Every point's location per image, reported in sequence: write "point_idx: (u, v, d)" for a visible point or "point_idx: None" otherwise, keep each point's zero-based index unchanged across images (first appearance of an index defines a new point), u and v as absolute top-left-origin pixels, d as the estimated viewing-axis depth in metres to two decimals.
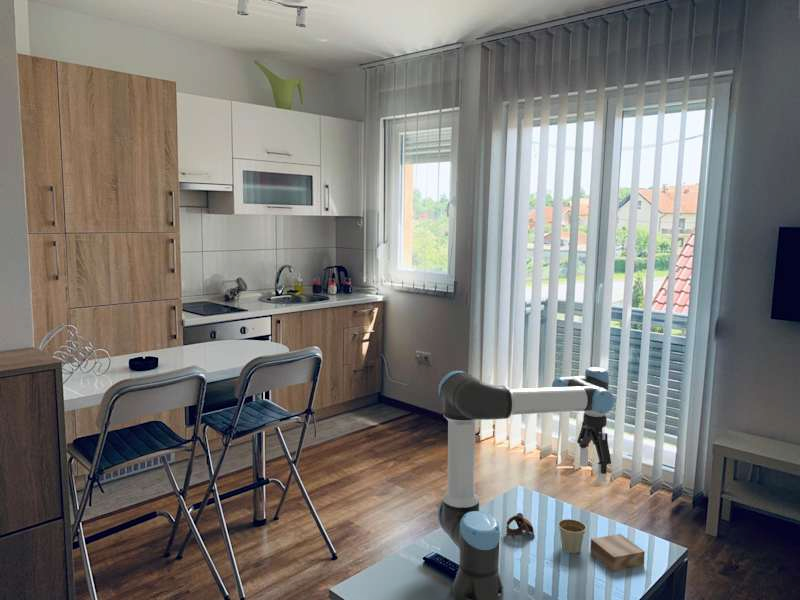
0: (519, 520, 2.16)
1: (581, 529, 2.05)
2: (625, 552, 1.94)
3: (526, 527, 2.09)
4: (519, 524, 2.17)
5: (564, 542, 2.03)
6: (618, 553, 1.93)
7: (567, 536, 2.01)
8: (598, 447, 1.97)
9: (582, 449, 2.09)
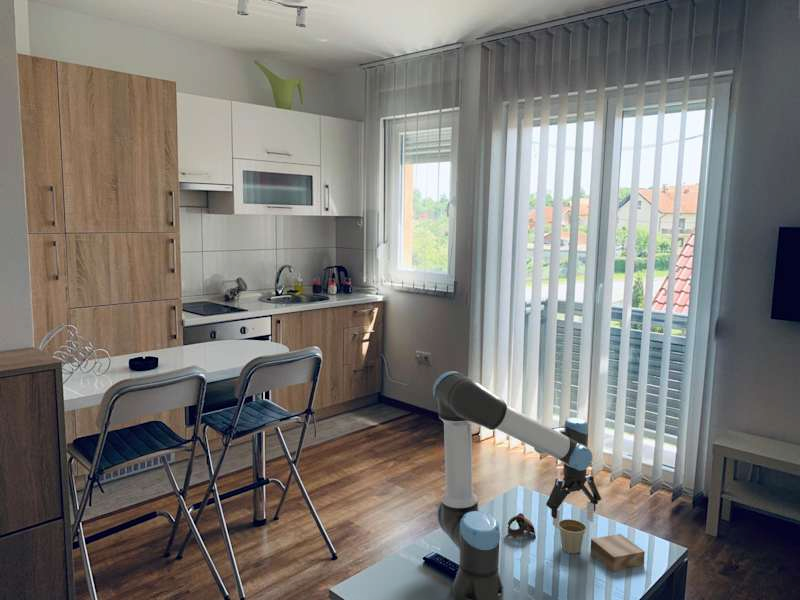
0: (520, 520, 2.16)
1: (581, 529, 2.05)
2: (625, 552, 1.94)
3: (527, 527, 2.09)
4: (520, 524, 2.17)
5: (564, 542, 2.03)
6: (618, 553, 1.93)
7: (567, 536, 2.01)
8: (559, 493, 2.02)
9: (588, 502, 2.06)
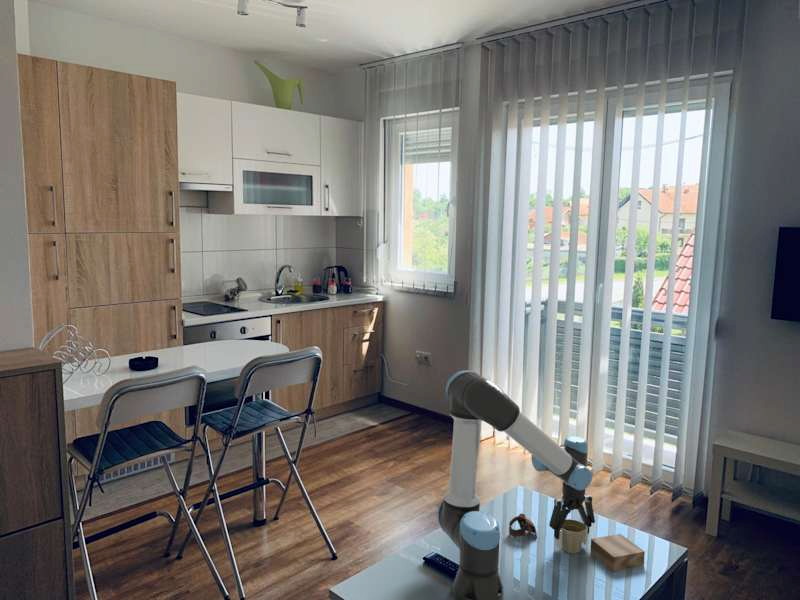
0: (521, 521, 2.16)
1: (581, 529, 2.05)
2: (625, 552, 1.94)
3: (529, 528, 2.09)
4: (521, 524, 2.17)
5: (564, 542, 2.03)
6: (618, 553, 1.93)
7: (567, 536, 2.01)
8: (560, 513, 2.03)
9: None
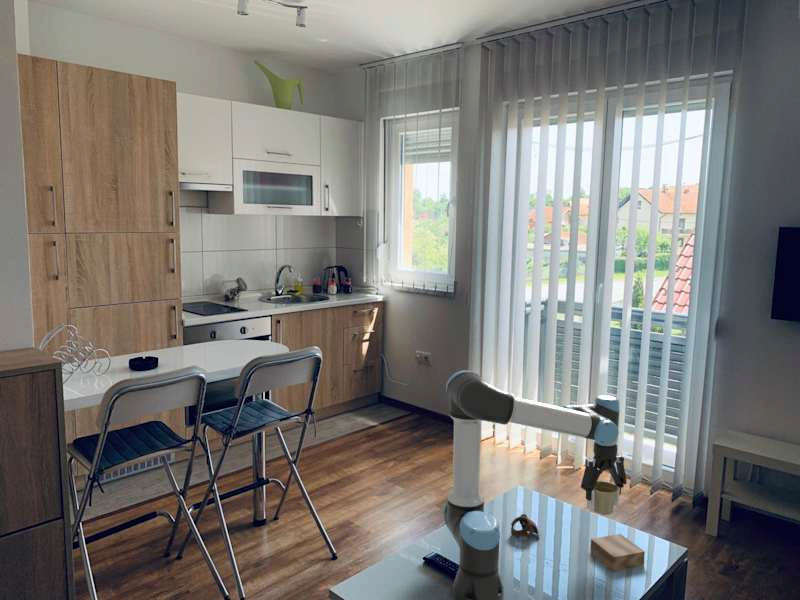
0: (523, 521, 2.16)
1: (612, 490, 2.00)
2: (625, 552, 1.94)
3: (531, 528, 2.09)
4: (523, 525, 2.16)
5: (596, 504, 1.97)
6: (618, 553, 1.93)
7: (599, 497, 1.96)
8: (592, 474, 1.97)
9: None
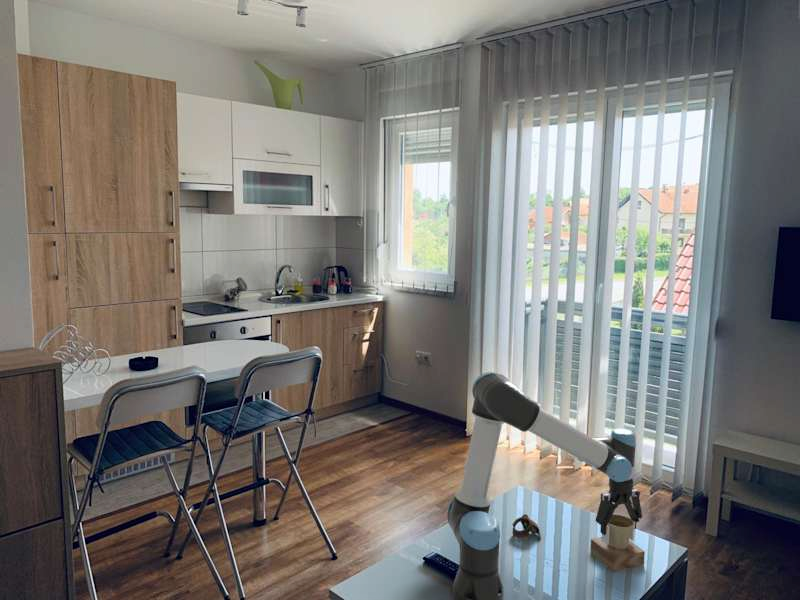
0: (525, 521, 2.15)
1: (628, 524, 1.99)
2: (625, 552, 1.94)
3: (533, 528, 2.09)
4: (524, 525, 2.16)
5: (611, 538, 1.96)
6: (618, 553, 1.93)
7: (614, 531, 1.95)
8: (607, 508, 1.96)
9: None
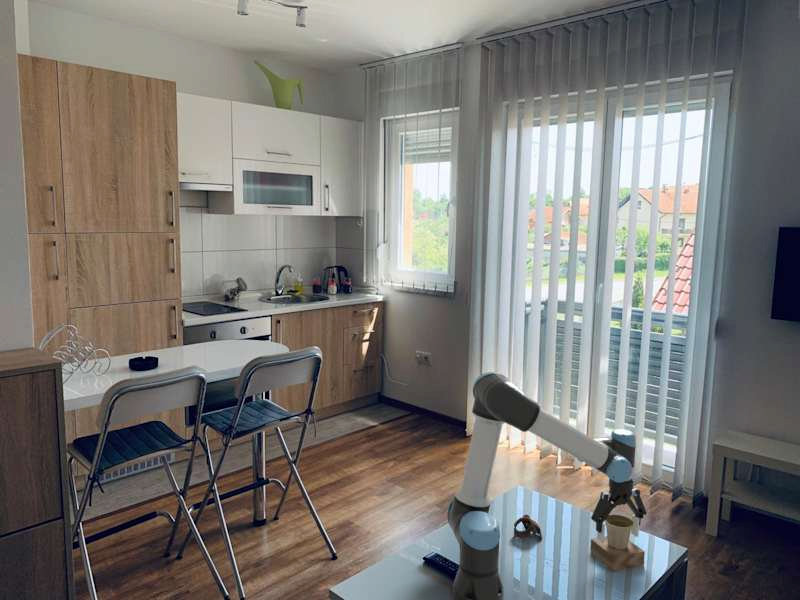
0: (526, 522, 2.15)
1: (628, 524, 1.99)
2: (625, 552, 1.94)
3: (534, 529, 2.08)
4: (525, 525, 2.16)
5: (611, 538, 1.96)
6: (618, 553, 1.93)
7: (614, 531, 1.95)
8: (605, 506, 1.96)
9: (633, 516, 2.00)
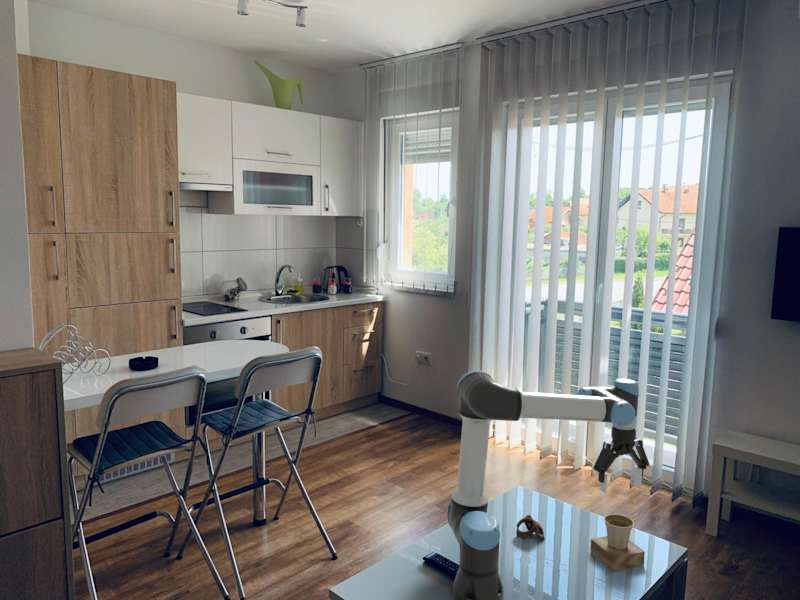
0: (528, 522, 2.15)
1: (628, 524, 1.99)
2: (625, 552, 1.94)
3: (537, 529, 2.08)
4: (528, 526, 2.15)
5: (611, 538, 1.96)
6: (618, 553, 1.93)
7: (614, 531, 1.95)
8: (607, 456, 1.94)
9: (635, 467, 1.98)
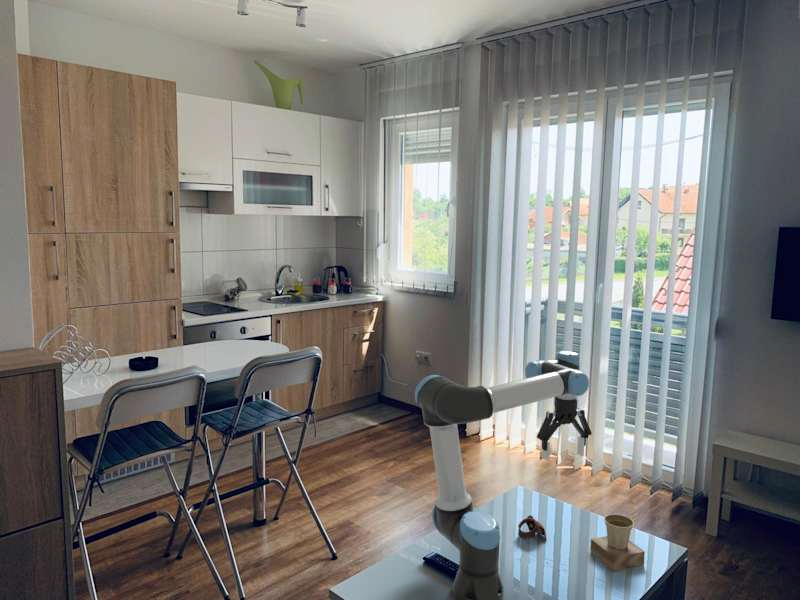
0: (530, 523, 2.15)
1: (628, 524, 1.99)
2: (625, 552, 1.94)
3: (539, 530, 2.08)
4: (530, 526, 2.15)
5: (611, 538, 1.96)
6: (618, 553, 1.93)
7: (614, 531, 1.95)
8: (550, 426, 2.02)
9: (578, 437, 2.07)
